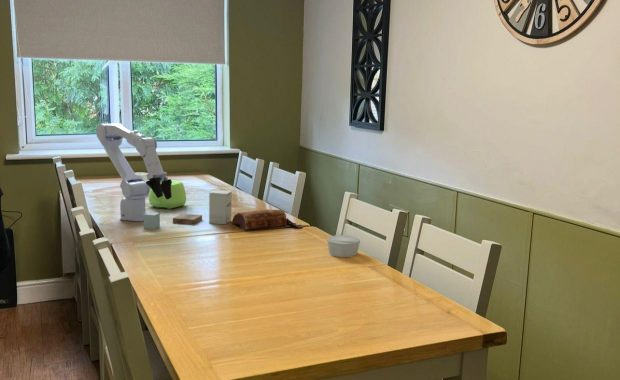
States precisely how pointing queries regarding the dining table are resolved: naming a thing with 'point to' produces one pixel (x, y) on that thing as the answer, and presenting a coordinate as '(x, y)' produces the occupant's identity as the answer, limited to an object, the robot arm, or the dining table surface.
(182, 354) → the dining table surface
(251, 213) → the cured meat
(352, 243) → the ramekin
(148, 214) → the pale grey block
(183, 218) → the walnut slab
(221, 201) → the supplement box
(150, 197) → the teapot
